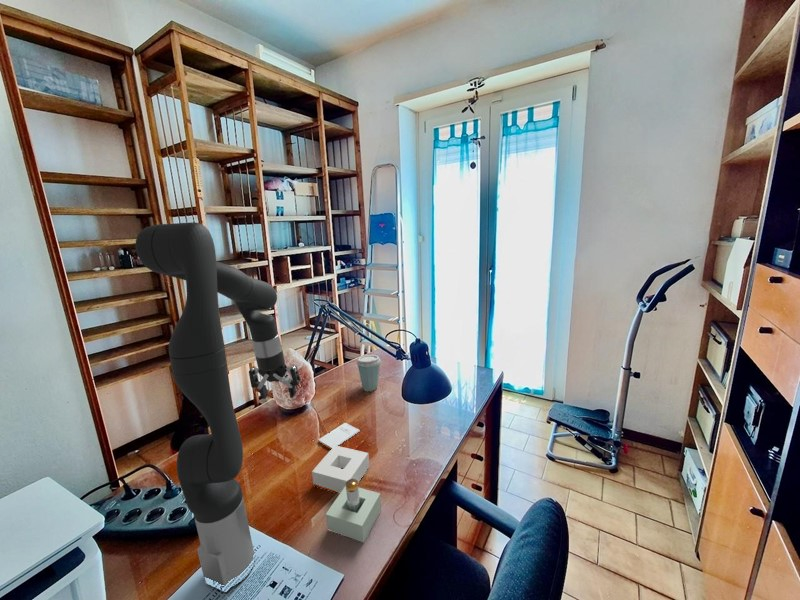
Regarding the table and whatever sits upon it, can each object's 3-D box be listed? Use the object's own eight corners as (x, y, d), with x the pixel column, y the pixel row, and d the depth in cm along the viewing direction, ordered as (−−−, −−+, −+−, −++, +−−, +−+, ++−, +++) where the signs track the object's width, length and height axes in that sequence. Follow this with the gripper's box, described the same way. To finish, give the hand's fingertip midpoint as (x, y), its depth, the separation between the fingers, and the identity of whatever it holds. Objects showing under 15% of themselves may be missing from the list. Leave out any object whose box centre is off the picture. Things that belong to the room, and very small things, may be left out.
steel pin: (357, 526, 84) (354, 489, 82) (347, 523, 85) (343, 486, 83) (363, 516, 87) (360, 480, 84) (353, 513, 88) (349, 477, 85)
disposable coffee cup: (355, 386, 155) (352, 356, 151) (376, 380, 160) (374, 350, 156) (364, 396, 146) (361, 364, 142) (386, 389, 150) (384, 358, 147)
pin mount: (363, 543, 80) (362, 525, 79) (327, 530, 83) (325, 514, 82) (381, 509, 89) (380, 493, 88) (348, 499, 92) (346, 484, 91)
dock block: (350, 496, 93) (348, 481, 92) (313, 486, 98) (311, 471, 97) (369, 467, 104) (368, 453, 103) (336, 458, 109) (334, 445, 107)
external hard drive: (317, 443, 117) (344, 425, 127) (333, 452, 112) (360, 433, 122) (317, 439, 117) (344, 421, 126) (332, 448, 112) (359, 429, 121)
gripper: (238, 358, 95) (251, 405, 101) (288, 355, 94) (298, 403, 100) (250, 345, 102) (261, 390, 108) (296, 343, 101) (305, 388, 107)
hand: (279, 396), depth 104 cm, fingers open, 8 cm apart
